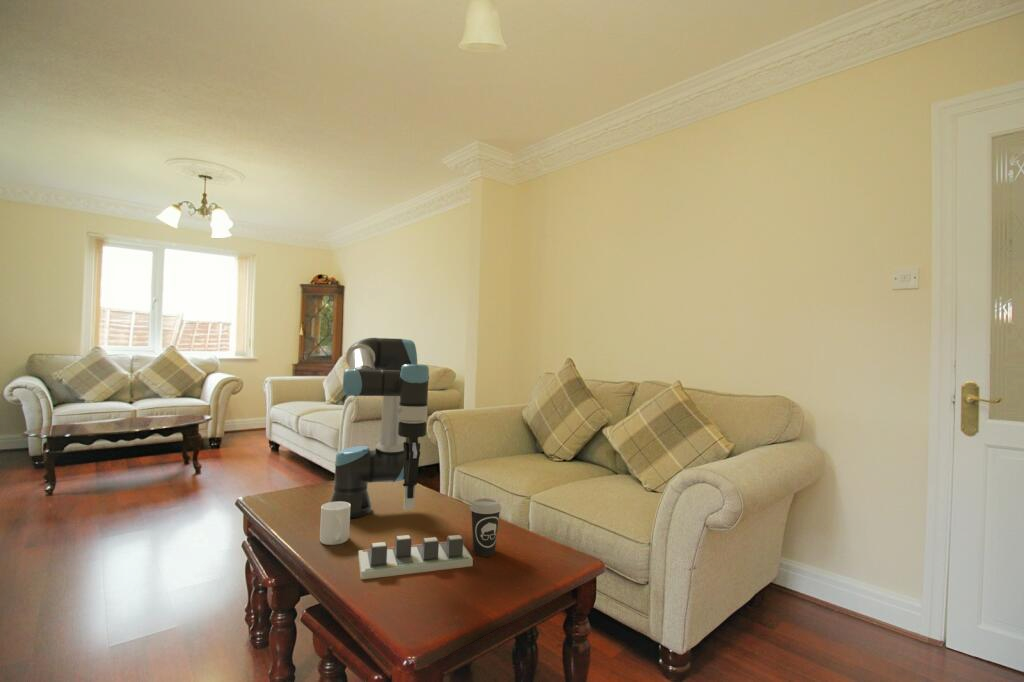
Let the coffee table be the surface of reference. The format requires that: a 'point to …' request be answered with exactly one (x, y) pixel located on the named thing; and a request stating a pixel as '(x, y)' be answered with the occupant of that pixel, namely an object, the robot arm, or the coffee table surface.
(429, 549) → the block
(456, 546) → the block
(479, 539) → the coffee cup
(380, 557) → the block
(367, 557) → the panel
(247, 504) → the coffee table surface
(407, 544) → the block
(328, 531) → the mug
